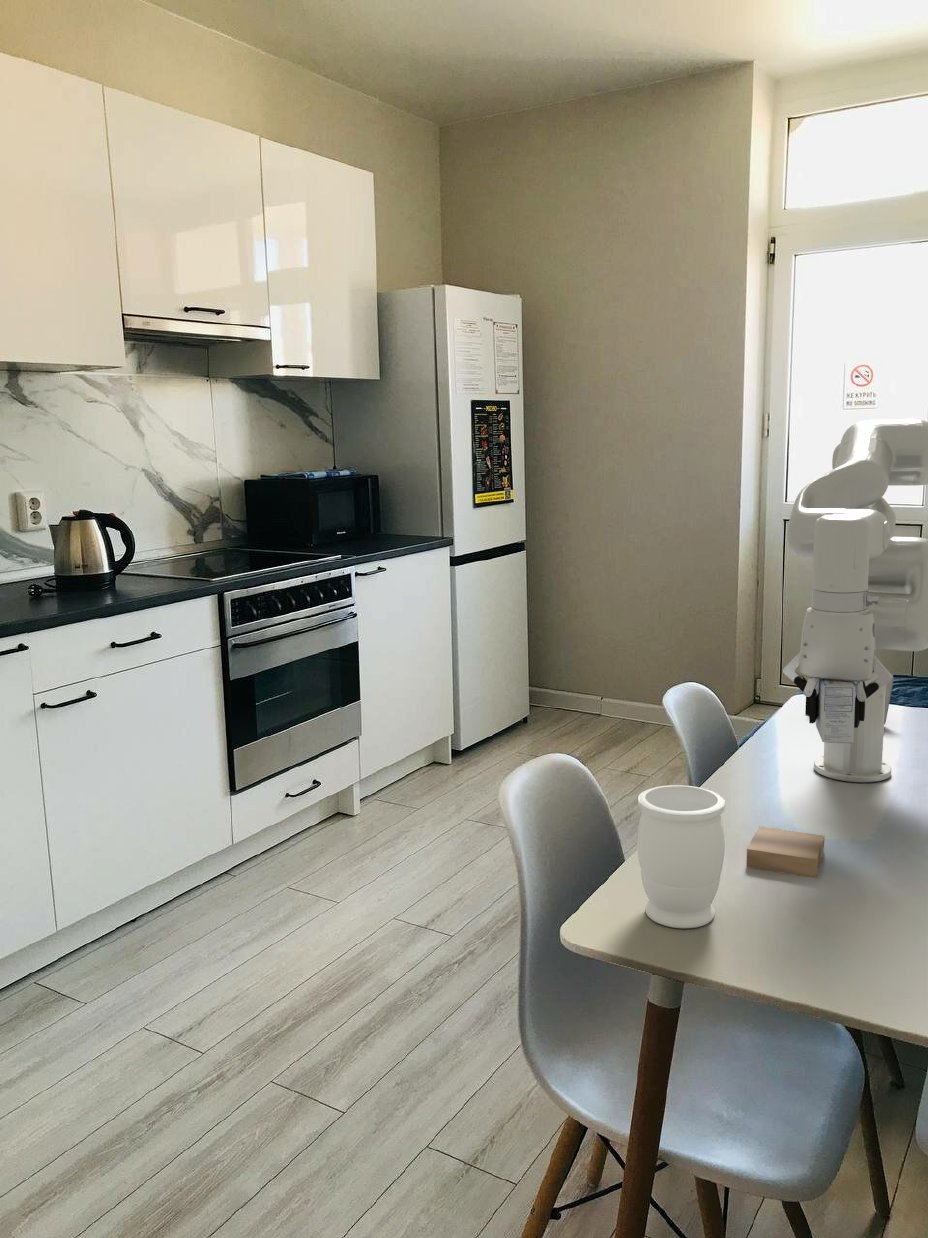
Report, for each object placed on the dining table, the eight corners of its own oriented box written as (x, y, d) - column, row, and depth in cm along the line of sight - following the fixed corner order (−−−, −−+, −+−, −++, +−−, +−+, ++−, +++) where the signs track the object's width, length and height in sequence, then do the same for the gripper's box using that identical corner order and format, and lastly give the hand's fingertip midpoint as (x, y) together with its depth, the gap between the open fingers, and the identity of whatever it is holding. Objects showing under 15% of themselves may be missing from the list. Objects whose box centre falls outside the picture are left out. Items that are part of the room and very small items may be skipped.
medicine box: (853, 744, 144) (856, 686, 142) (820, 743, 145) (823, 684, 143) (846, 728, 151) (848, 672, 150) (814, 727, 152) (817, 671, 151)
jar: (706, 942, 117) (708, 819, 115) (623, 922, 123) (624, 804, 120) (734, 906, 126) (737, 792, 124) (655, 889, 132) (657, 778, 129)
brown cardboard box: (758, 846, 146) (758, 826, 145) (823, 856, 142) (824, 835, 141) (746, 869, 138) (747, 849, 137) (815, 881, 134) (816, 859, 133)
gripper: (905, 600, 144) (899, 722, 147) (782, 594, 152) (778, 710, 155) (902, 609, 137) (895, 737, 141) (772, 603, 145) (769, 724, 148)
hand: (834, 721), depth 148 cm, fingers closed on medicine box, 5 cm apart
